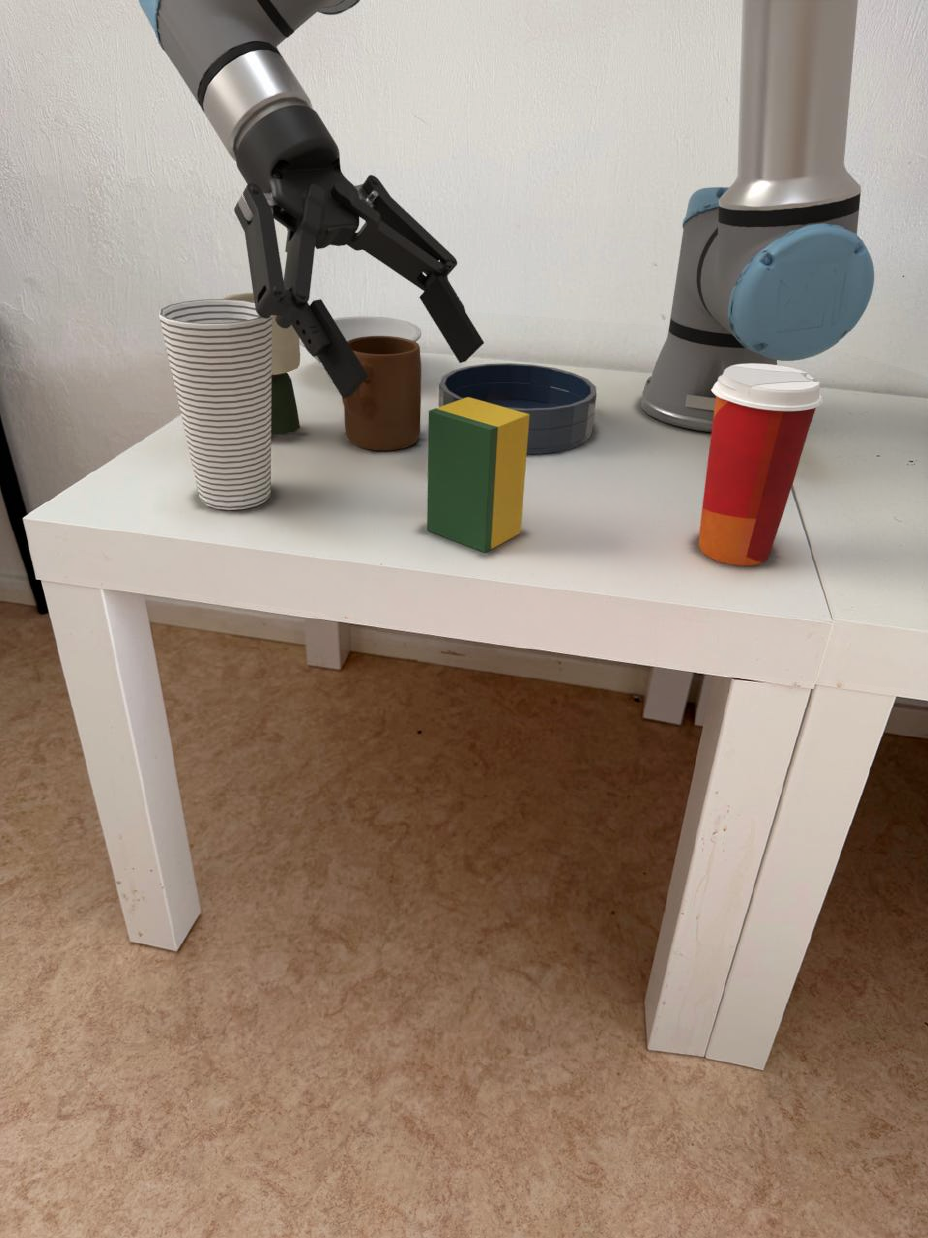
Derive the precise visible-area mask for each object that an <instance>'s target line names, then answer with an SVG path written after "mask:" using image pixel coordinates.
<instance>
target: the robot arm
mask: <svg viewBox="0 0 928 1238" xmlns="http://www.w3.org/2000/svg"><path fill="white" fill-rule="evenodd" d="M360 1H361V0H138V3H139V6H140V8H141V10H142V11H143V14H144V15H145V17H146V19H147V20H148V22H149V24H150V26H151V28H152V30H153V32H154V34H155V38H156V39H157V41H158V44H159V46H160V48H161V49H162V51H164V52H165V54H166V55H167V57H168V59H169V60H170V62H171V63H172V65H173V66H174V67H175V69H176V71H177V72H178V74H179V75H180V77H181V78H182V79H183V81H184V83H185V85H186V86H187V88H188V89H189V91H190V93H191V94H192V96H193V97H194V99H195V100H196V102H197V104H198V105H199V106H200V108H201V110H202V112H203V114H204V115H205V117H206V118H207V121H208V122H209V123H210V125H211V126H212V128H213V130H214V131H215V133H216V135H217V136H218V138H219V140H220V142H221V143H222V144H223V146H224V148H225V149H226V151H227V153H228V154H229V156H230V157H231V158H232V159H233V161H235V163H236V167H237V169H238V171H239V174H240V175H241V176H242V178H243V179H244V182H245V183H246V186H245V188H244V189H243V192H242V194H241V195H240V197H239V199H238V201H237V203H235V206H234V209H233V211H234V214H235V216H236V218H237V220H238V222H239V224H240V226H241V228H242V229H243V232H244V237H245V243H246V244H245V245H246V251H247V258H248V266H249V272H250V273H249V275H250V279H251V288H252V293H253V295H254V302H255V309H256V312H257V313H258V315H259V316H261V317H262V318H266V319H268V318H270V317H271V315H275V316H276V318H275V321H276V323H277V324H278V325H279V326H280V327H282V328H285V329H286V328H289V327H290V326H291V325H292V326H293V328H294V330H295V331H296V333H297V335H298V336H299V338H300V339H301V341H302V343H303V344H304V346H305V347H304V348H305V350H306V349H307V350H306V351H307V352H308V353H309V354H310V355H311V356H312V357H313V358H314V356H317V357H318V359H319V360H320V362H321V363H320V362H319V363H320V364H321V365H322V367H323V368H324V370H325V372H326V373H327V375H328V377H329V378H330V380H331V382H332V383H333V385H334V387H335V388H336V390H337V391H338V393H339V395H340V396H341V399H342V398H347V397H350V396H351V395H352V394H353V393H354V392H355V391H356V389H357V388H358V387H359V386H360V385H361V384H362V383H363V382H364V380H365V379H366V378H367V377H368V375H367V373H366V371H365V370H364V368H363V367H362V365H361V363H360V362H359V360H358V358H357V357H356V355H355V354H354V352H353V350H352V349H351V347H350V345H349V344H348V342H347V341H346V339H345V337H344V336H343V334H342V332H341V331H340V329H339V328H338V326H337V324H336V323H335V321H334V319H335V318H334V317H333V316H332V314H331V313H330V311H329V309H328V308H327V306H326V305H325V303H324V301H323V299H321V298H319V299H314V300H313V301H312V302H311V303H309V300H310V295H311V287H312V279H313V270H314V260H315V259H314V258H315V251H316V250H320V249H325V248H327V247H329V246H335V247H336V246H337V247H342V246H348V247H350V248H351V249H352V250H354V251H357V252H358V251H364V252H365V253H367V254H369V255H370V256H372V257H373V258H375V259H376V260H378V261H379V262H381V263H382V264H384V265H385V266H386V267H388V268H389V269H391V270H392V271H394V272H395V273H397V274H398V275H400V276H401V277H402V278H404V279H406V280H407V281H408V282H410V283H411V284H413V285H414V286H416V287H417V288H418V289H420V290H422V291H423V292H422V294H421V295H419V298H418V299H420V301H421V302H422V304H423V306H424V307H425V309H426V311H427V313H428V314H429V316H430V318H431V319H432V321H433V322H434V324H435V325H436V327H437V328H438V331H439V332H440V334H441V335H442V337H443V339H444V340H445V342H446V343H447V345H448V347H449V348H450V349H451V351H452V353H453V354H454V356H455V358H456V360H457V361H458V363H459V364H461V363H465V362H466V361H467V360H469V359H470V358H471V357H472V356H473V355H474V353H476V352H477V351H478V350H479V349H480V348H481V347H482V346H483V345H484V344H485V341H484V340H483V338H482V337H481V335H480V333H479V331H478V330H477V329H476V327H475V326H474V325H475V324H473V321H472V320H471V319H470V317H469V315H468V313H467V312H466V308H465V305H464V303H463V301H462V300H461V299H460V297H459V296H458V294H457V292H456V290H455V288H454V287H453V286H452V284H451V282H450V281H449V277H448V276H450V274H451V272H452V271H453V270H454V269H455V268H456V267H457V266H458V260H457V258H456V257H455V256H454V255H453V254H452V253H451V252H450V251H449V250H448V249H447V248H446V247H445V246H443V244H442V243H440V241H438V240H437V239H436V238H435V237H434V236H433V235H432V234H431V233H430V232H429V231H428V230H427V229H426V228H425V227H424V226H422V225H421V224H420V223H419V222H418V220H416V219H415V218H414V217H413V216H412V215H411V214H410V213H409V212H407V210H406V209H405V208H404V207H402V205H400V204H399V203H398V201H396V200H395V199H394V198H393V197H392V196H391V195H390V193H389V191H387V189H386V188H385V186H384V185H383V183H382V182H381V181H380V179H379V178H378V177H377V176H376V175H373V174H369V175H368V176H367V177H366V179H365V180H364V182H363V183H361V184H357V185H355V184H353V183H352V182H351V181H350V180H349V179H348V178H347V177H346V176H345V175H344V173H343V172H342V169H341V167H342V166H341V156H340V155H341V154H340V148H339V146H338V144H337V143H336V141H335V139H334V138H333V136H332V134H331V133H330V131H329V129H328V128H327V127H326V125H325V122H324V121H323V120H322V119H321V116H320V115H319V114H318V112H317V111H316V110H315V109H314V107H313V104H312V100H311V99H310V97H309V96H308V94H307V93H306V91H305V90H304V88H303V86H302V85H301V82H299V80H298V78H297V77H296V76H295V75H296V74H295V73H294V72H293V70H292V69H291V68H290V66H289V63H287V61H286V59H284V56H283V55H282V53H281V52H280V51H279V49H278V46H279V45H280V44H282V43H283V42H284V41H285V40H286V39H289V38H290V37H291V36H292V35H293V34H294V33H295V32H296V30H298V29H299V28H300V27H301V26H302V25H304V24H305V23H306V22H307V21H308V20H309V19H311V18H312V17H314V15H315V14H317V13H320V14H322V15H327V16H336V15H340V14H343V13H345V12H347V11H348V10H350V9H352V8H354V7H355V6H357V4H359V3H360ZM741 5H742V6H741V14H742V15H741V39H740V40H741V41H740V75H739V76H740V77H739V79H740V80H739V106H738V109H739V110H738V138H737V139H738V140H737V141H738V142H737V170H736V171H737V173H736V177H735V179H734V181H733V182H732V183H731V185H730V186H725V187H723V186H715V187H713V186H712V187H702V188H699V189H697V190H695V191H694V192H693V193H692V195H691V196H690V198H689V200H688V204H687V209H686V213H685V216H684V218H683V221H682V224H681V225H682V227H681V228H682V237H681V243H680V250H679V257H678V264H677V270H676V277H675V283H674V290H673V297H672V303H671V311H670V317H669V324H668V331H667V336H666V339H665V341H664V343H663V346H662V348H661V350H660V352H659V355H658V357H657V359H656V362H655V365H654V368H653V370H652V374H651V376H649V377H648V378H647V379H646V381H645V383H644V386H643V389H642V395H641V401H640V407H641V409H642V410H643V411H644V412H645V413H646V414H648V415H649V416H650V417H652V418H653V419H656V420H659V421H661V422H663V423H666V424H669V425H672V426H675V427H679V428H683V429H688V430H694V431H699V432H706V433H712V425H713V417H714V409H715V402H716V395H715V394H714V393H713V392H712V391H711V389H712V388H713V386H714V385H715V383H716V382H717V381H718V378H719V377H720V376H722V375H723V373H724V370H725V369H726V368H728V367H730V366H732V365H737V364H749V363H756V364H771V365H778V361H780V362H795V361H801V360H805V359H809V358H813V357H815V356H817V355H820V354H822V353H825V352H826V351H828V350H830V349H831V348H833V347H834V346H836V345H837V344H839V342H840V340H842V339H843V338H844V337H845V336H846V335H847V334H848V333H850V332H851V331H853V329H854V328H855V327H856V325H858V323H859V321H861V318H862V317H863V315H864V313H865V311H866V310H867V308H868V305H869V303H870V300H871V297H872V295H873V291H874V290H873V289H874V285H875V267H874V261H873V258H872V256H871V254H870V251H869V250H868V247H867V246H866V244H865V242H864V240H863V239H861V237H860V236H859V235H858V225H859V215H860V205H861V203H860V202H861V195H862V185H860V183H858V181H856V179H855V178H854V177H853V176H852V175H851V174H850V173H849V172H848V170H847V168H846V167H845V156H846V155H845V154H846V141H847V131H848V120H849V108H850V98H851V97H850V95H851V84H852V75H853V74H852V73H853V64H854V63H853V62H854V61H853V60H854V51H855V39H856V38H855V37H856V27H857V26H856V25H857V16H858V5H859V0H742V4H741ZM360 219H362V220H363V221H365V222H364V224H363V225H362V226H361V228H360V229H359V227H360ZM275 221H277V222H278V223H279V224H280V225H282V226H283V227H285V228H286V231H287V235H286V241H285V248H284V249H285V253H286V258H285V259H286V260H285V266H284V267H285V268H284V274H283V269H282V262H281V261H282V260H281V256H280V249H279V243H278V235H277V230H276V223H275ZM358 229H359V230H358Z"/></svg>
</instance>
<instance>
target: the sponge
mask: <svg viewBox="0 0 928 1238" xmlns="http://www.w3.org/2000/svg"><path fill="white" fill-rule="evenodd" d="M528 427H529V414H527V413H523V412H520V411H516V410H513V409H509V408H505V407H502V406H498V405H495V404H491V403H488V402H484V401H481V400H477V399H473V398H470V397H467V398H464V399H461V400H458V401H455V402H452V403H450V404H447V405H444V406H441V407H436V408H432V409H429V410H428V434H427V435H428V439H427V500H426V501H427V506H426V507H427V509H426V531H428V532H432V533H433V534H435V535H438V536H441V537H444V538H446V539H448V540H451V541H453V542H457V543H459V544H461V545H464V546H467V547H469V548H472V549H475V550H477V551H479V552H481V553H484V554H485V553H487V552H489V551H491V550H492V549H494V548H496V547H498V546H500V545H502V544H504V543H505V542H508V540H510V539H512V538H515V537H516V536H518V535H519V534H521V533H522V519H523V506H524V505H523V504H524V491H525V478H526V466H527V465H526V464H527V455H528V454H527V441H528Z"/></svg>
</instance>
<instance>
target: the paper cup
mask: <svg viewBox="0 0 928 1238" xmlns="http://www.w3.org/2000/svg"><path fill="white" fill-rule="evenodd" d="M820 388H821V383H820V381H818V380H817V379H816V378H814V377H813V376H812V375H811V374H809V372H807V371H804V370H801V369H797V368H794V367H790V366H785V365H784V366H783V365H778V364H777V365H771V364H756V363H749V364H737V365H732V366H730V367H728V368H726V369H725V370H724V373H723V375H722V376H720V377H719V378H718V381H717V382H716V383H715V385H714V386H713V388H712V389H711V391H712V392H713V393H714V394H715V395H716V402H715V409H714V417H713V425H712V432H710V433H711V434H710V440H709V441H710V442H709V449H708V450H709V451H708V457H707V465H706V473H705V482H704V490H703V497H702V506H701V514H700V522H699V523H700V524H699V532H698V548H699V550H700V552H701V553H702V554H703V555H704V556H706V557H707V558H709V559H712V560H714V561H716V562H719V563H721V564H725V565H731V566H739V567H749V566H757V565H760V564H762V563H765V562H766V561H767V560H768V559H769V557H770V555H771V552H772V549H773V546H774V544H775V540H776V537H777V534H778V532H779V528H780V525H781V522H782V519H783V515H784V514H785V513H784V512H785V509H786V506H787V502H788V501H789V500H788V499H789V496H790V493H791V490H792V487H793V484H794V481H795V478H796V475H797V471H798V468H799V464H800V462H801V458H802V454H803V452H804V448H805V444H806V441H807V437H808V435H809V431H810V428H811V425H812V421H813V419H814V416H815V412H816V408H818V407H820V406H821V405H822V404H823V397H822V394H821V393H820V391H821V390H820Z"/></svg>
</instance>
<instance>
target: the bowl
mask: <svg viewBox="0 0 928 1238" xmlns="http://www.w3.org/2000/svg"><path fill="white" fill-rule="evenodd" d="M597 395H598V394H597V386H596V385H595V384H594V383H593V382H592V381H590V380H589V379H588V378H586V377H584V376H581V375H579V374H576V373H575V372H572V371H567V370H564V369H560V368H556V367H551V366H544V365H539V364H538V365H537V364H532V363H531V364H530V363H529V364H527V363H516V362H515V363H514V362H513V363H510V362H506V363H505V362H504V363H503V362H502V363H500V362H499V363H483V364H482V363H481V364H476V365H467V366H463V367H459V368H457V369H453V370H451V371H449V372H447V373H446V374H444V375H442V376H441V377H440V381H439V382H438V407H441V406H444V405H447V404H450V403H452V402H455V401H458V400H461V399H464V398H467V397H470V398H473V399H477V400H481V401H484V402H488V403H491V404H495V405H498V406H502V407H505V408H509V409H513V410H516V411H520V412H523V413H527V414H529V427H528V441H527V454H526V455H542V454H543V455H544V454H552V453H553V454H554V453H560V452H563V451H569V450H571V449H574V448H577V447H579V446H581V445H583V444H585V443H586V442H587V441H588V440H589V439H590V437H591V436H592V432H593V429H594V420H595V410H596V402H597ZM438 407H437V408H438Z"/></svg>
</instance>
